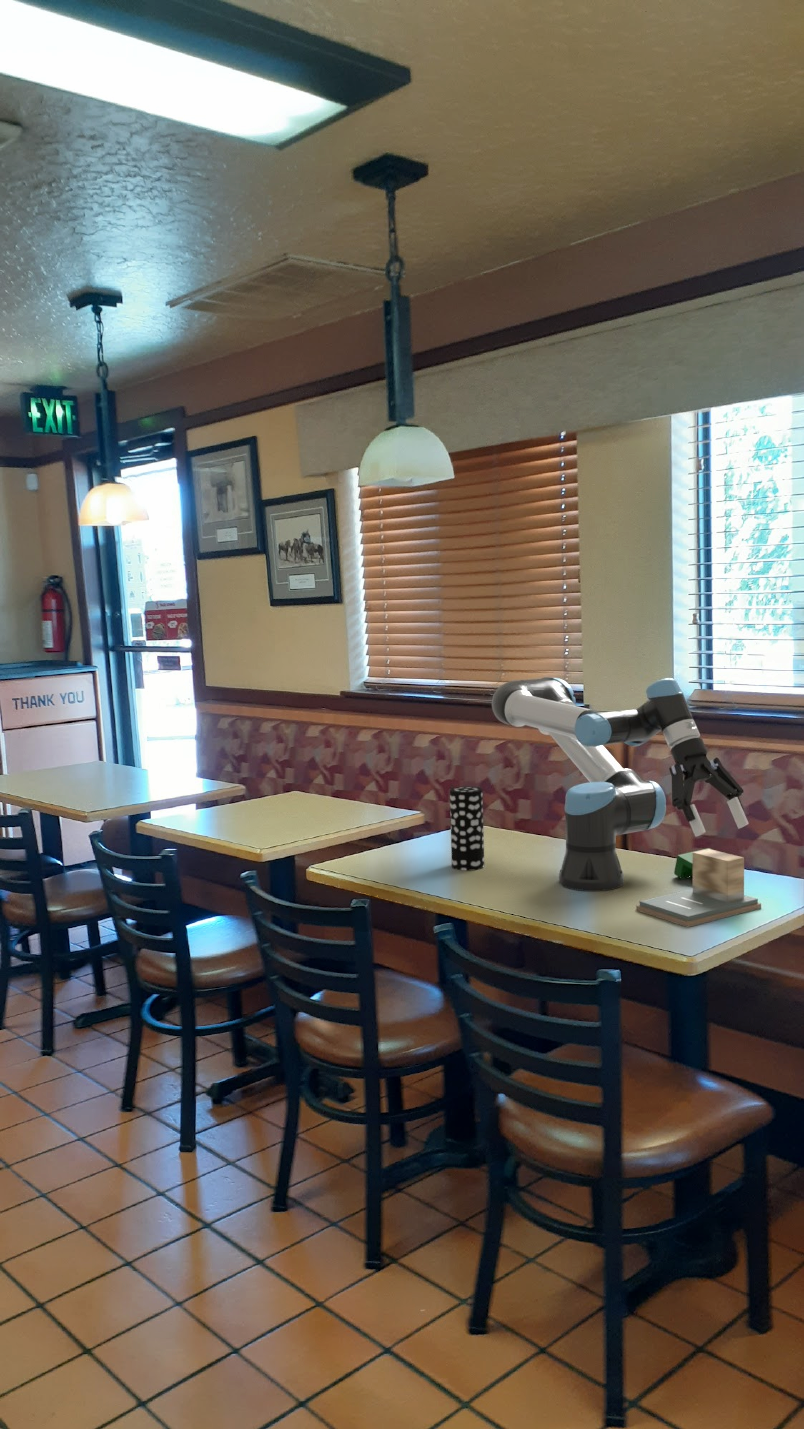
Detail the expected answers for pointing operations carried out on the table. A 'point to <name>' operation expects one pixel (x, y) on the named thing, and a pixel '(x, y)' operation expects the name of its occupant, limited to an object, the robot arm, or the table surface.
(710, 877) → the wooden block
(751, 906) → the slate board
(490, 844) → the table surface
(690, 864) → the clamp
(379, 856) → the table surface
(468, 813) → the white-spotted black cylinder
